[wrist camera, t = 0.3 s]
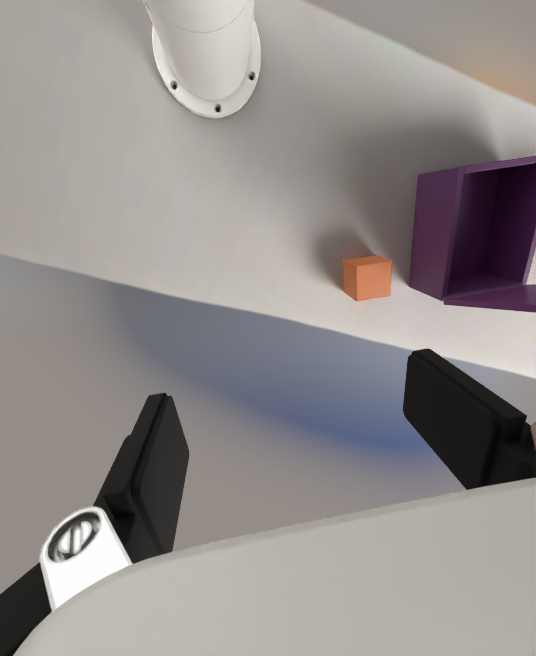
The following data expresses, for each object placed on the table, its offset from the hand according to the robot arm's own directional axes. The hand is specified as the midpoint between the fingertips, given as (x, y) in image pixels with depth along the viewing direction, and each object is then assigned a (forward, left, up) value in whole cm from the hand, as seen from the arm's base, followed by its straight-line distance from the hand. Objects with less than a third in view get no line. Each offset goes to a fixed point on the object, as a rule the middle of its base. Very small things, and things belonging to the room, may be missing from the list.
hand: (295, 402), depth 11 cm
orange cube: (+6, +18, -36) cm, 41 cm away
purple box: (+1, +34, -36) cm, 50 cm away
